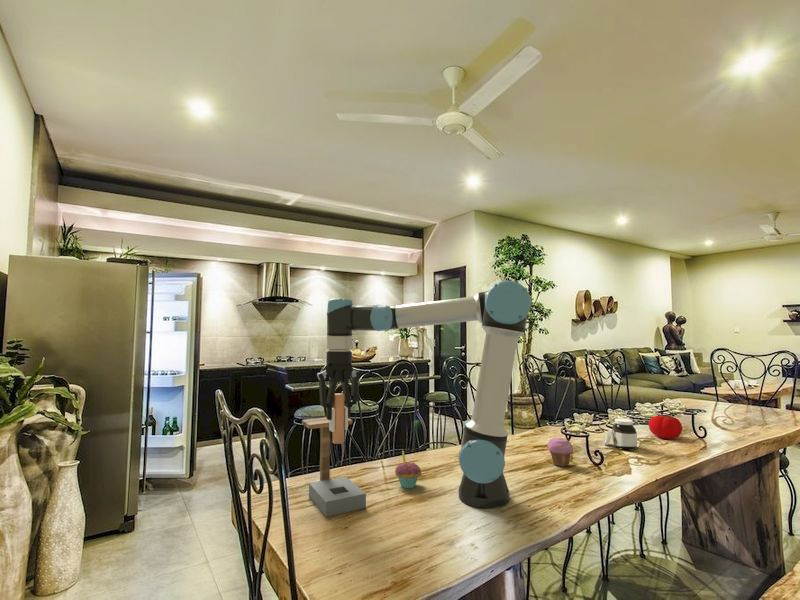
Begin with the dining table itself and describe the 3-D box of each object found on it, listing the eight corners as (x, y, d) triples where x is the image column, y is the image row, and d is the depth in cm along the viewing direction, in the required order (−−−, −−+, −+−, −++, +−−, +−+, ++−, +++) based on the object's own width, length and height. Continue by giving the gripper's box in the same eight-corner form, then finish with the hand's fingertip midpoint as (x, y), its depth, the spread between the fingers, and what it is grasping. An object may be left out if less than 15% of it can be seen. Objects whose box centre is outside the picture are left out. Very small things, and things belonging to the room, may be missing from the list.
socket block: (365, 507, 119) (365, 493, 120) (325, 516, 114) (325, 501, 114) (345, 489, 134) (345, 476, 134) (308, 496, 128) (309, 483, 128)
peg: (341, 440, 125) (342, 393, 126) (345, 442, 122) (346, 394, 123) (330, 441, 124) (331, 393, 125) (334, 444, 121) (335, 395, 122)
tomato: (656, 440, 189) (655, 416, 190) (645, 433, 201) (644, 411, 202) (688, 441, 187) (687, 417, 187) (675, 434, 199) (674, 412, 200)
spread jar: (640, 451, 173) (639, 422, 174) (613, 451, 173) (612, 422, 174) (625, 443, 185) (624, 416, 186) (599, 443, 185) (598, 416, 186)
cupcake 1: (402, 492, 131) (402, 453, 131) (390, 483, 138) (390, 446, 139) (426, 487, 135) (425, 449, 135) (413, 479, 142) (412, 443, 143)
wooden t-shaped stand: (352, 491, 131) (352, 420, 133) (308, 500, 125) (309, 425, 126) (343, 483, 138) (343, 415, 140) (301, 491, 132) (302, 420, 133)
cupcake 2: (565, 470, 150) (565, 442, 151) (543, 464, 156) (543, 437, 157) (577, 465, 156) (576, 437, 156) (555, 459, 162) (554, 433, 163)
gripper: (359, 349, 132) (359, 424, 131) (308, 350, 124) (307, 430, 123) (369, 350, 126) (368, 429, 124) (316, 351, 118) (315, 436, 116)
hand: (338, 429), depth 123 cm, fingers closed on peg, 3 cm apart
